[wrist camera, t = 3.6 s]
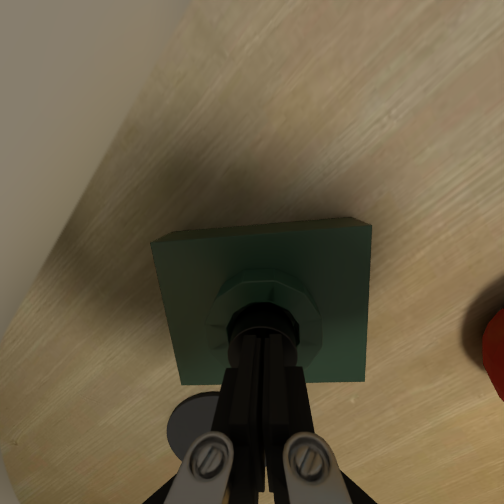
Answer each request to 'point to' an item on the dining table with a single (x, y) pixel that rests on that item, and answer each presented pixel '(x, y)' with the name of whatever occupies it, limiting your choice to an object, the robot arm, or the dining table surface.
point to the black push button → (263, 332)
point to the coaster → (191, 421)
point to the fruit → (495, 351)
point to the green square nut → (268, 292)
